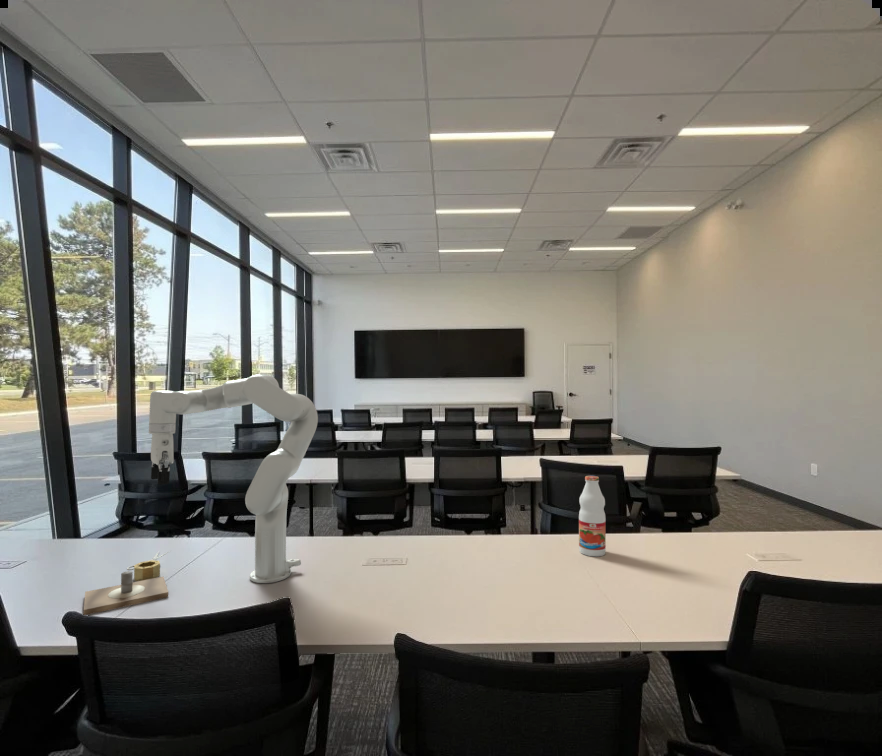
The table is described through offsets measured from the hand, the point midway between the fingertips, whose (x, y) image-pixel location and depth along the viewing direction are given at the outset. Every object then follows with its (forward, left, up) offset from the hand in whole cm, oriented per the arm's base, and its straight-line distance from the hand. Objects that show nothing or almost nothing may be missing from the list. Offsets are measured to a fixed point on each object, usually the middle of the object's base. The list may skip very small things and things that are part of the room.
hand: (159, 481), depth 159 cm
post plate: (+9, +12, -31) cm, 34 cm away
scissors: (0, -18, -31) cm, 36 cm away
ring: (+3, -2, -31) cm, 31 cm away
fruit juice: (-134, +65, -31) cm, 152 cm away
